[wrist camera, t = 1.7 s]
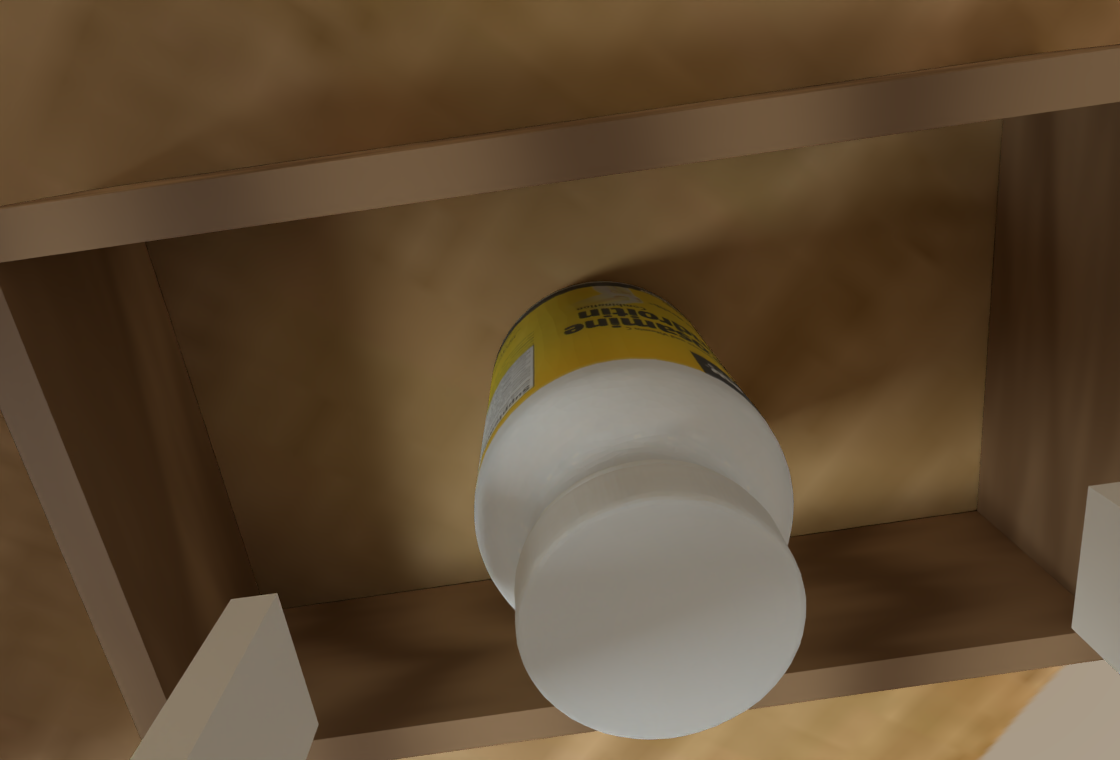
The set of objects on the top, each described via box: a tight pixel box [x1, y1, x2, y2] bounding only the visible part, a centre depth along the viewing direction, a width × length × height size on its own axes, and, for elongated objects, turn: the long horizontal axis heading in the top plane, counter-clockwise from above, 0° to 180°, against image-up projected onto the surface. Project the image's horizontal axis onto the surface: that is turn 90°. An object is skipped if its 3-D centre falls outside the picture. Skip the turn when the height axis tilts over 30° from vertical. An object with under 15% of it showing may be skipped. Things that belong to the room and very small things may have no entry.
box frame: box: [0, 44, 1120, 760], centre depth 20 cm, size 26×15×6 cm, turn 98°
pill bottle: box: [474, 281, 806, 739], centre depth 17 cm, size 6×6×12 cm
